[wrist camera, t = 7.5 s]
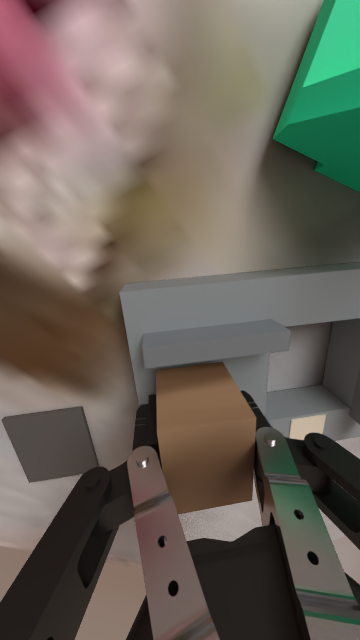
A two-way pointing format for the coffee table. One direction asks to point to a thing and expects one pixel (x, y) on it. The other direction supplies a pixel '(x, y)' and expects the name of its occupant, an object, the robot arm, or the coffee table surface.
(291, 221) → the coffee table surface
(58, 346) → the coffee table surface
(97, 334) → the coffee table surface
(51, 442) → the mat
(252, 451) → the block
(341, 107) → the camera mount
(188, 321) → the rail board
